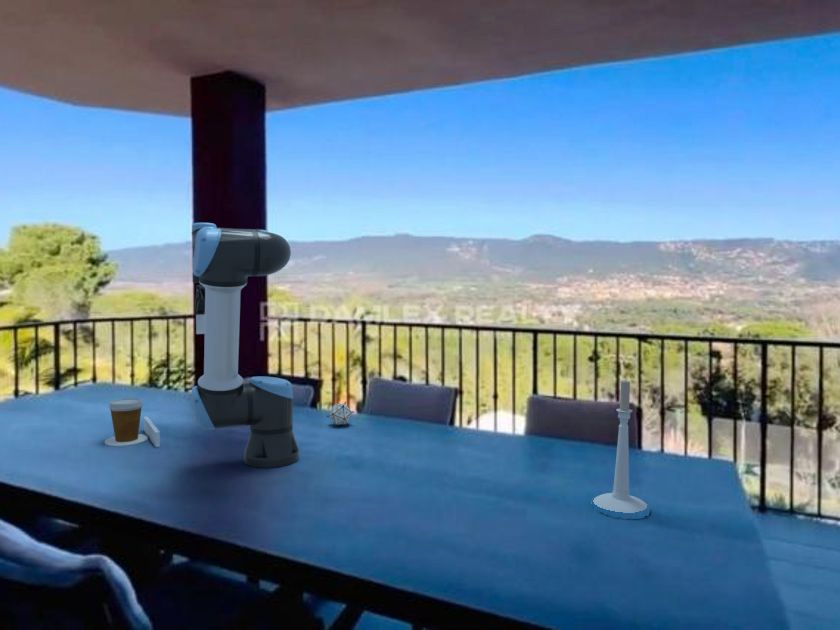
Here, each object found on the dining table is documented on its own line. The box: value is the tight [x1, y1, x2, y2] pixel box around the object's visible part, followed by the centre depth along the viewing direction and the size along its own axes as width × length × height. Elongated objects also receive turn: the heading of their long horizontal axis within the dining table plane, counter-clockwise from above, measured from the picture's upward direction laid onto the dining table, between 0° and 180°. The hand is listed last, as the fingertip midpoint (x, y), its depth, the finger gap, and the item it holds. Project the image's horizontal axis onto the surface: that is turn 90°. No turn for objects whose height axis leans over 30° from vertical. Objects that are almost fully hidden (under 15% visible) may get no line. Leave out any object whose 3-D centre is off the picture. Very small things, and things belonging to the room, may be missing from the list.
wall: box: [143, 416, 161, 448], centre depth 186 cm, size 22×1×4 cm, turn 34°
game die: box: [326, 401, 355, 428], centre depth 205 cm, size 9×8×10 cm
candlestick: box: [592, 378, 648, 513], centre depth 134 cm, size 13×13×30 cm
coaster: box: [104, 433, 149, 447], centre depth 183 cm, size 12×12×1 cm
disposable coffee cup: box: [108, 398, 144, 442], centre depth 183 cm, size 10×10×12 cm
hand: (205, 335), depth 193 cm, fingers open, 13 cm apart
